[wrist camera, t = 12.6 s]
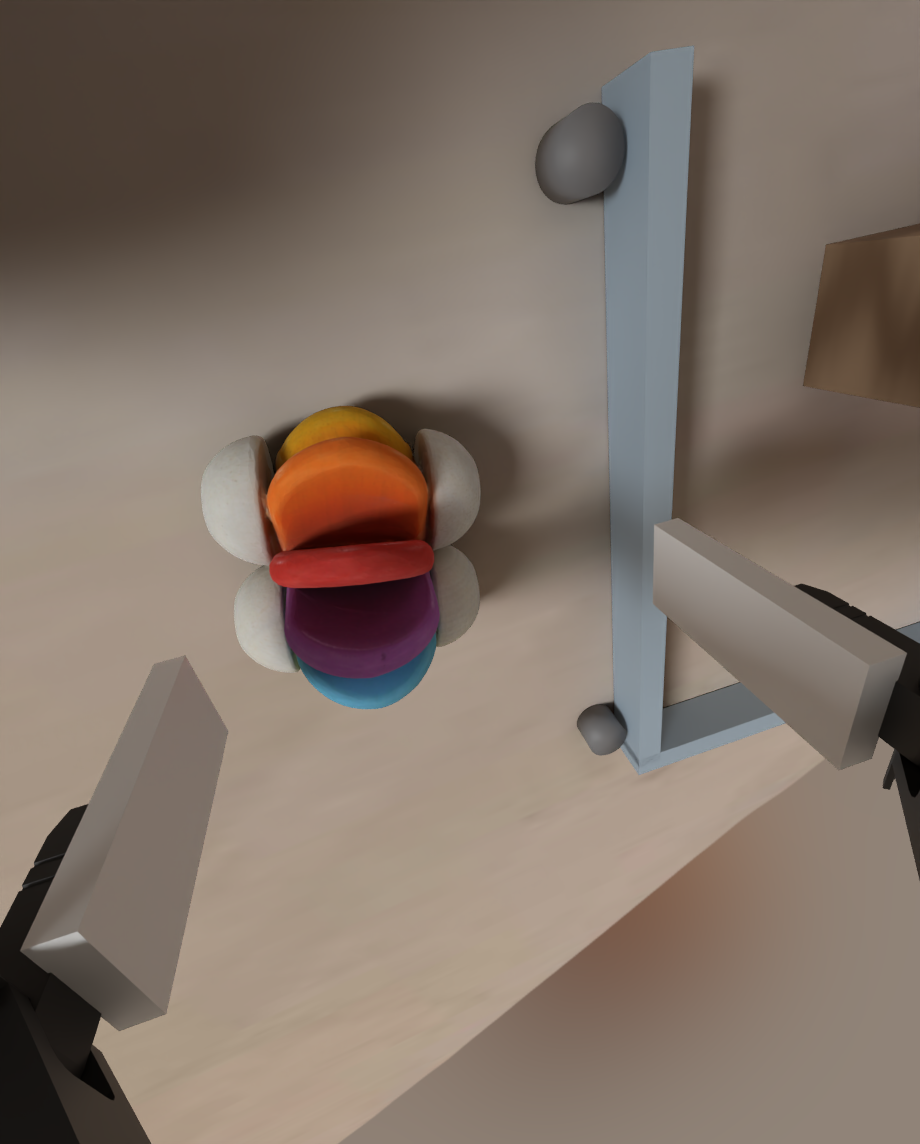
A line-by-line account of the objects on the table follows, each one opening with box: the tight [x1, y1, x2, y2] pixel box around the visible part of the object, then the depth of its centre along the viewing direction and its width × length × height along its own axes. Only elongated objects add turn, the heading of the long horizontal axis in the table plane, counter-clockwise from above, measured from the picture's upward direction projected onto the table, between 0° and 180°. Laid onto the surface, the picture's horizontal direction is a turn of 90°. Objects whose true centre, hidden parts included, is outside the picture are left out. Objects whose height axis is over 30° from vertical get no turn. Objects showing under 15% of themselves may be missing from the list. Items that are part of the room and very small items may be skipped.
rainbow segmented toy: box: [201, 406, 481, 709], centre depth 16 cm, size 8×10×7 cm
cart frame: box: [535, 46, 920, 775], centre depth 22 cm, size 28×27×2 cm
